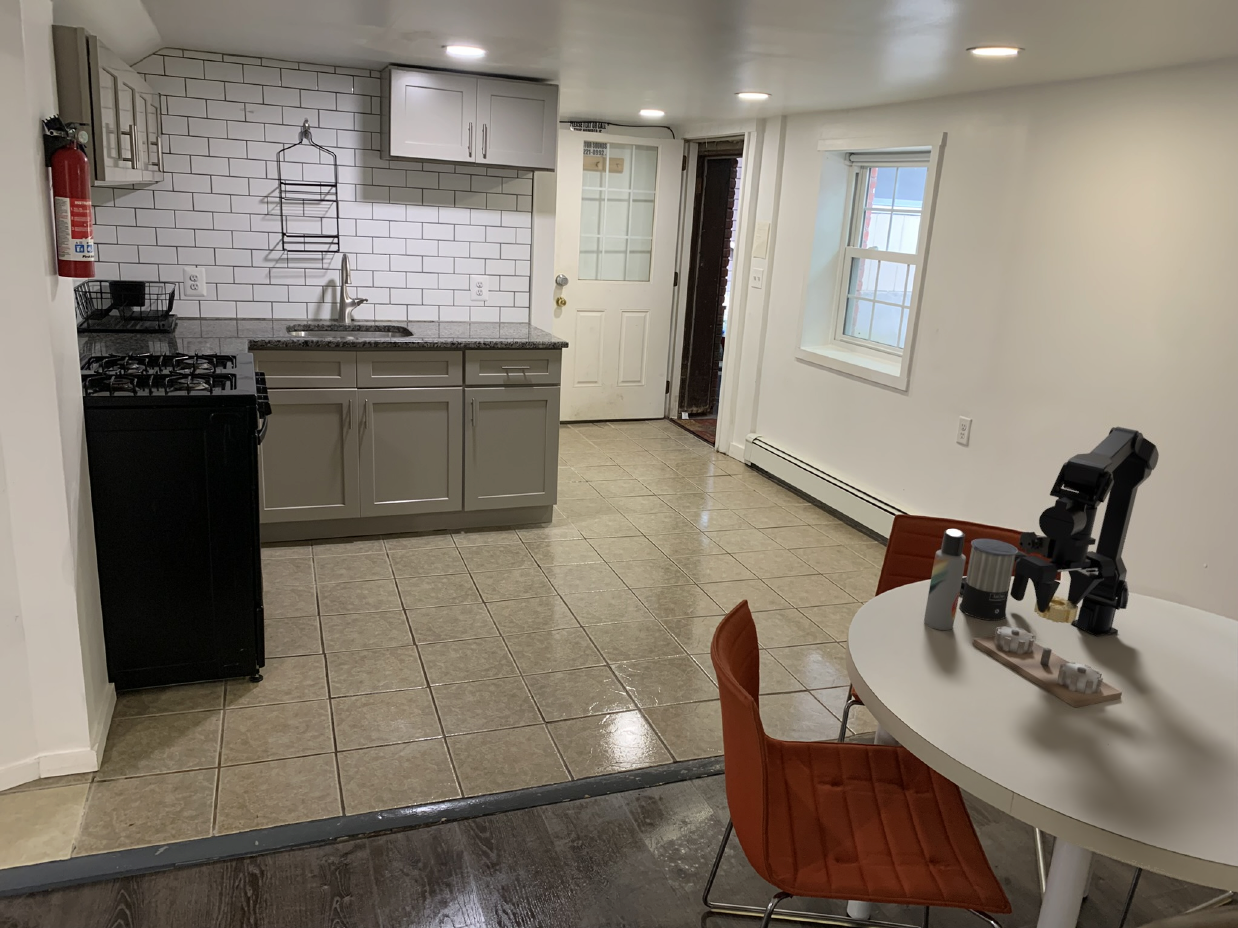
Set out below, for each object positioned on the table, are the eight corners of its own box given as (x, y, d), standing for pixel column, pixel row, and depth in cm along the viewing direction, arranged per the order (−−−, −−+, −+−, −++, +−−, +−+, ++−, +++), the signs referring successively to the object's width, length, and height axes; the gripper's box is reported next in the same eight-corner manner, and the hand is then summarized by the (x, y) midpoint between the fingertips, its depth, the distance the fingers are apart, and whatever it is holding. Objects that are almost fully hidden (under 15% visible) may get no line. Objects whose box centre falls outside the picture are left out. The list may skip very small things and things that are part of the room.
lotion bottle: (954, 622, 187) (971, 530, 182) (951, 633, 182) (969, 538, 177) (925, 615, 189) (941, 524, 184) (921, 626, 184) (938, 532, 179)
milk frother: (985, 624, 187) (999, 556, 183) (924, 594, 200) (935, 530, 196) (1029, 613, 195) (1043, 547, 191) (967, 585, 207) (979, 523, 203)
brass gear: (1053, 606, 172) (1056, 593, 171) (1083, 621, 166) (1086, 608, 165) (1026, 609, 169) (1028, 596, 169) (1055, 624, 163) (1058, 611, 163)
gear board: (972, 644, 178) (976, 624, 177) (1015, 637, 182) (1019, 618, 181) (1074, 707, 157) (1080, 685, 156) (1120, 698, 161) (1125, 676, 160)
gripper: (1074, 512, 174) (1057, 589, 178) (1000, 516, 167) (983, 596, 171) (1126, 532, 164) (1106, 612, 168) (1049, 537, 157) (1030, 622, 161)
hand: (1055, 610), depth 167 cm, fingers closed on brass gear, 7 cm apart
